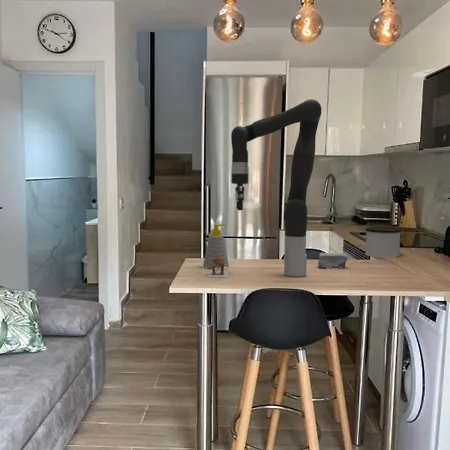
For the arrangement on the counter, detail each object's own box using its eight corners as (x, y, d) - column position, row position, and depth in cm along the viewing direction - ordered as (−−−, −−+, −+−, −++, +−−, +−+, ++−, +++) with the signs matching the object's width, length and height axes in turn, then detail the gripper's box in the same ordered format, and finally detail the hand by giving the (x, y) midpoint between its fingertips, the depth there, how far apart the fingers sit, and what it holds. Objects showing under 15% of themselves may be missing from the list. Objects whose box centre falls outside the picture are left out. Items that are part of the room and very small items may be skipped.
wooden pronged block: (223, 272, 209) (223, 257, 209) (223, 275, 204) (224, 259, 204) (212, 272, 209) (212, 257, 208) (212, 275, 204) (212, 259, 203)
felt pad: (226, 272, 212) (226, 271, 212) (227, 277, 201) (227, 276, 201) (208, 272, 212) (208, 271, 212) (208, 277, 201) (208, 276, 201)
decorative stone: (312, 267, 230) (323, 270, 220) (312, 253, 229) (323, 255, 220) (338, 266, 235) (350, 268, 225) (338, 252, 234) (350, 254, 225)
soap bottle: (224, 270, 219) (224, 225, 217) (198, 268, 223) (199, 224, 221) (232, 265, 230) (232, 223, 229) (208, 263, 234) (208, 222, 233)
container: (365, 251, 281) (366, 226, 280) (399, 253, 275) (400, 227, 274) (364, 256, 263) (365, 229, 262) (400, 258, 257) (401, 230, 256)
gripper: (249, 172, 202) (249, 210, 204) (247, 173, 216) (246, 208, 218) (232, 172, 202) (231, 210, 203) (230, 173, 216) (230, 208, 217)
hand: (239, 209), depth 210 cm, fingers open, 8 cm apart
